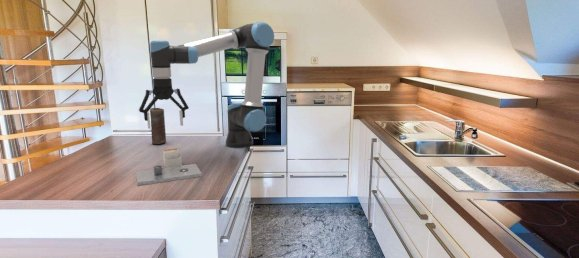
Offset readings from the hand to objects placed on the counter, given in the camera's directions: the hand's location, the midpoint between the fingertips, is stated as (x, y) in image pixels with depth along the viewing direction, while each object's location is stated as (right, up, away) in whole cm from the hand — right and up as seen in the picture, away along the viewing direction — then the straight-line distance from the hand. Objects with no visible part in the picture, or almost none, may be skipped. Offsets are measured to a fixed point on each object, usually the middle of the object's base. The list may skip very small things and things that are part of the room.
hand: (165, 126), depth 145 cm
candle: (-19, -9, +41) cm, 46 cm away
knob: (+2, -17, +3) cm, 18 cm away
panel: (+5, -20, -9) cm, 23 cm away
